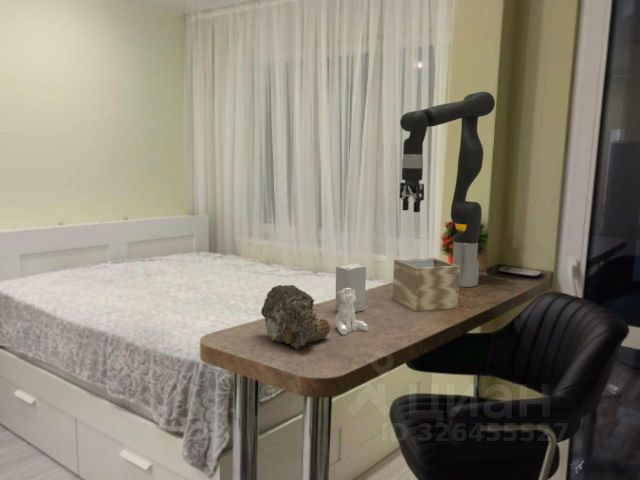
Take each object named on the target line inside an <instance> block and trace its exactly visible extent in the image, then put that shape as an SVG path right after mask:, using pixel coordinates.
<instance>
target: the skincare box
mask: <svg viewBox="0 0 640 480" xmlns="http://www.w3.org/2000/svg"><path fill="white" fill-rule="evenodd" d="M366 275H367V266H366V265H364V264H359V263H357V262H356V263H355V262H354V263H349V264H344V265H337V266H335V307H334V308H335V311H337V312H339V310H338V309H339V306H340V305H341V304H342V303H343V302H342V301H341V299H340V296H339V295H338V294H337V291H342V289H346V288H351V289H353V291H354V290H355V291H354V292H355V296H356V300H355V301H354V303H353V304H354V308H355V313H358V312H361V311H365V310H366V286H367V285H366V280H367V279H366V277H367V276H366Z"/></svg>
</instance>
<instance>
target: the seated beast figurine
mask: <svg viewBox="0 0 640 480" xmlns="http://www.w3.org/2000/svg"><path fill="white" fill-rule="evenodd" d="M354 291H355V290H354ZM354 291H353V289H351V288H346V289H342V291H337V294H338V295H339V296H340V299H341V301H342V302H343V303H342V304H341V305H340V306H339V309H338V310H339V311H337V314H336V317H335V318H334V319H335V321H334V322H335V326H336V328H337V331H338V332H339V334H340V335H341V334H342V336H346V335H347V334H348V333H351V332H357V331H356V330H358V331H362V330H363V331H364V332H368V331H369V324H367V323H365V321H364V320H357V318H356V312H355V308H354V304H353V303H354V301H355V300H356V296H355V292H354ZM351 329H352V330H351ZM347 332H348V333H347Z"/></svg>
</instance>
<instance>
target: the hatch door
mask: <svg viewBox="0 0 640 480" xmlns="http://www.w3.org/2000/svg"><path fill="white" fill-rule="evenodd" d="M427 259H428V260H407V259H405V260H406V261H401V262H403V263H406V264H409V265H411V266H414V267H417V268H425V267H435V266H434V259H429V258H427Z"/></svg>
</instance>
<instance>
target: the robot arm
mask: <svg viewBox="0 0 640 480" xmlns="http://www.w3.org/2000/svg"><path fill="white" fill-rule="evenodd" d="M495 103H496V101H495V98H494V96H493V95H492V93H490V92H487V91H478V92H473V93H470V94H467V95H465V96H464V98H463V100H459V101H454V102H448V103H442V104H438V105H433V106H431V107H428V108H427V107H426V108H424V109H419V110H414V111H409V112H405V113H404V114H403V115H402V117H401V118H400V121H399V123H400V125H399V126H400V128H401V129H402V130H404V131H406V132H409V137H407V138H405V139H404V141H403V144H402V145H403V146H402V147H403V149H402V150H403V151H402V153H403V155H402V160H401V162H402V163H401V181H404V182H400V183H399V199H401V200H402V211H409V209H410V208H409V206H410V205H409V203H410V201H409V199H410V197H411V198H412V199H413V213H420V212H421V202H422V201H424V199H425V184H424V183H420V181H422V180H423V170H424V168H423V167H424V158H423V157H424V156H423V152H424V149H423V148H424V141H425V138H426V135H427V129H428V128H430V127H431V128H432V127H436V126H439V125H444V124H447V123H451V122H453V121H456V120H460V119H461V129H460V143H459V152H458V159H457V171H456V180H455V187H454V192H453V197H452V203H451V207H450V218H451V219H450V220H451V222H452V223H454V224H455V225H464V226H465V227H466V228H465V230H463V231H461V232H458V233H455V234H454V236H453V247H452V249H453V250H452V264H454V265H457V266H460V272H459V287H463V288H464V287H465V288H471V287H473V288H474V287H475V286H478V284H479V270H480V269H479V268H480V267H479V266H480V262H479V261H478V250H479V249H478V248H479V247H478V245H479V238H480V234H481V233H480V232H481V224H482V216H483V215H482V210H483V209H482V206H481V204H480V203H479V202H477V201H468V200H467V201H466V199H467V194H468V191H469V189H470V187H471V185H472V184H473V182H474V181H475V180H476V178H477V177H478V176H479V174H480V172H481V171H482V168H483V161H484V148H483V145H482V141H481V138H480V137H479V134H478V123H479V121H478V120H479V117H486V116H488V115H490V114H491V113H492V112H493V110H494V109H495V106H496V104H495Z"/></svg>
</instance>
